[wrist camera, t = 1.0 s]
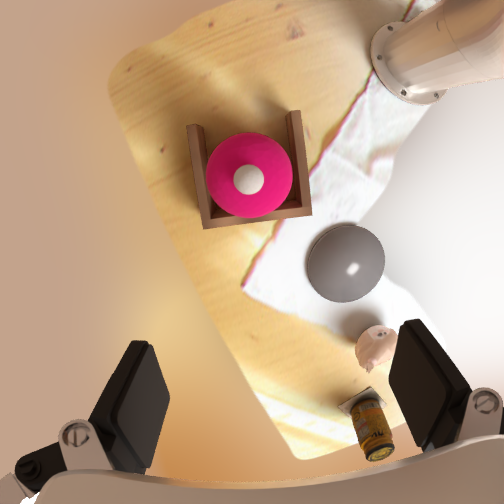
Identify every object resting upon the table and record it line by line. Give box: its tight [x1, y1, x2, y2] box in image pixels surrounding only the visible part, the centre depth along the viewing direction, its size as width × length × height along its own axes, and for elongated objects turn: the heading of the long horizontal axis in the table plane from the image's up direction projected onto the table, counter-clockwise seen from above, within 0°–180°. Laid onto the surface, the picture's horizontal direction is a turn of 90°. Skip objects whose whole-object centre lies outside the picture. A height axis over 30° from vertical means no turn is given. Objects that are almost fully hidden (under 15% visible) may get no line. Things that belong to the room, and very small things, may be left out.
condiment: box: [338, 387, 395, 462], centre depth 44 cm, size 7×8×12 cm
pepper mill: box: [206, 132, 292, 218], centre depth 26 cm, size 7×7×20 cm
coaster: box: [308, 225, 385, 303], centre depth 39 cm, size 11×11×1 cm
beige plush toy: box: [355, 325, 398, 373], centre depth 40 cm, size 7×6×8 cm
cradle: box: [186, 110, 312, 229], centre depth 33 cm, size 12×12×5 cm
